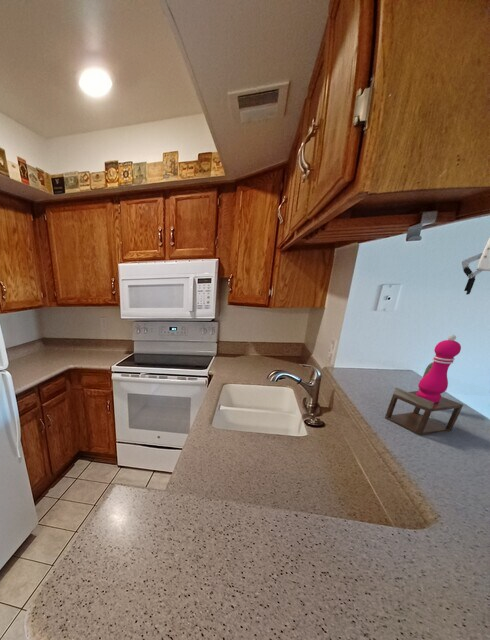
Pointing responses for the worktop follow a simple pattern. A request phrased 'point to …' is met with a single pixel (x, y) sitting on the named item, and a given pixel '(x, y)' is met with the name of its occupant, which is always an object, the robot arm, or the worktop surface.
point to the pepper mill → (439, 370)
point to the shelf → (423, 422)
